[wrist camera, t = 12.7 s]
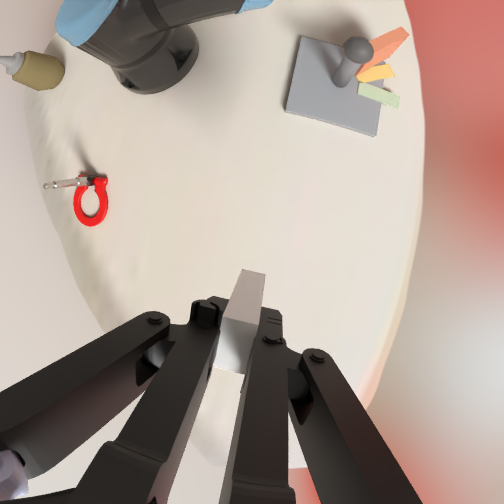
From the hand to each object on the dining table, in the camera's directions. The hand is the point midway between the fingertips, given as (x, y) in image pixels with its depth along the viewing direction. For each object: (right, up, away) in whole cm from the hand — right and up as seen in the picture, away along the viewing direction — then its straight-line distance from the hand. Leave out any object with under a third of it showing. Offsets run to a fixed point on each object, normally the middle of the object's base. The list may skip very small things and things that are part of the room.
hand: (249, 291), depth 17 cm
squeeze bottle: (-42, +41, +20) cm, 62 cm away
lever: (+17, +31, +15) cm, 38 cm away
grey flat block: (+15, +28, +17) cm, 36 cm away
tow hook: (-29, +12, +25) cm, 40 cm away
